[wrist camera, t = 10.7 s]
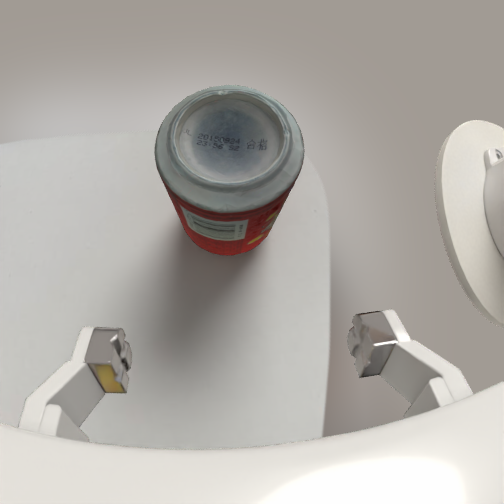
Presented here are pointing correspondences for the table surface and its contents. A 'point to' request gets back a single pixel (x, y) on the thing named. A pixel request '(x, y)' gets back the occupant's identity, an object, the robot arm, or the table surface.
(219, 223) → the soda can
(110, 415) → the table surface
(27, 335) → the table surface
